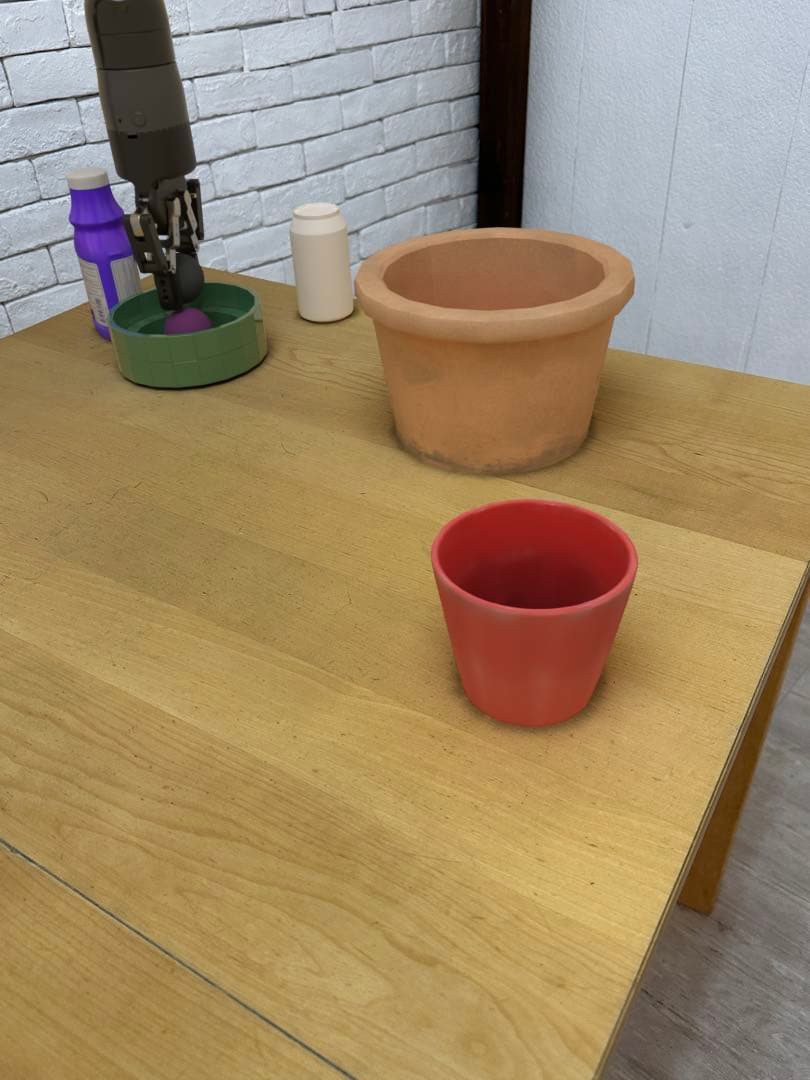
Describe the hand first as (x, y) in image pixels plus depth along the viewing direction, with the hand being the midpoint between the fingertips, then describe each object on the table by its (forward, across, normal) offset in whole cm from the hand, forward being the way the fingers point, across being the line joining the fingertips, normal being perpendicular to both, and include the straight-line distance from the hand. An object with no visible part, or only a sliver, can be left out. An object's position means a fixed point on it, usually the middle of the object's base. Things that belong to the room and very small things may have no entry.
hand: (182, 298), depth 93 cm
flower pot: (+6, +45, +38) cm, 59 cm away
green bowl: (+6, +2, +1) cm, 7 cm away
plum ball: (+5, +2, +1) cm, 6 cm away
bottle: (+6, -5, -10) cm, 13 cm away
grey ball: (0, 0, 0) cm, 0 cm away
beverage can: (+6, -11, +12) cm, 17 cm away
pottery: (+6, +14, +33) cm, 36 cm away
